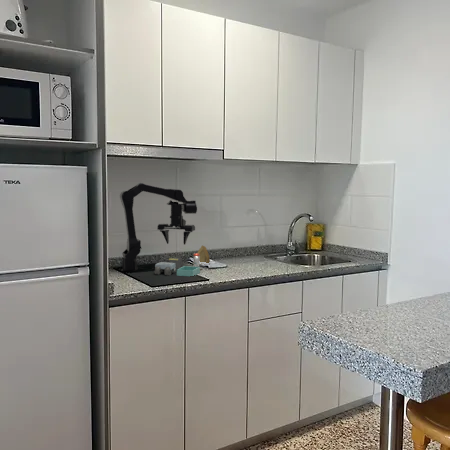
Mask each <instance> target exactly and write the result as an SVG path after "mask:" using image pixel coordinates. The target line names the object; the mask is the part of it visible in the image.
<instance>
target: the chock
mask: <svg viewBox="0 0 450 450" xmlns="http://www.w3.org/2000/svg"><path fill="white" fill-rule="evenodd" d="M168 262H169V263H176V270H177V269H179V268H181V267H183V257H176V256H175V257H171V258H168Z"/></svg>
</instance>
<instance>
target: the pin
mask: <svg viewBox="0 0 450 450" xmlns="http://www.w3.org/2000/svg"><path fill="white" fill-rule="evenodd" d="M199 259H200V254H199V253H197V252H196V253H193V261H194V262H192V263H193V266H192V267H200V264H199Z"/></svg>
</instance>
